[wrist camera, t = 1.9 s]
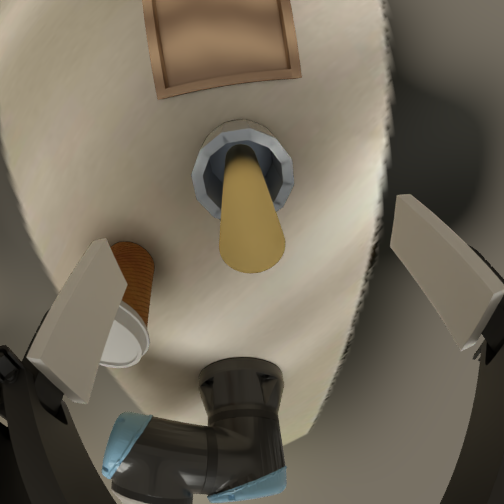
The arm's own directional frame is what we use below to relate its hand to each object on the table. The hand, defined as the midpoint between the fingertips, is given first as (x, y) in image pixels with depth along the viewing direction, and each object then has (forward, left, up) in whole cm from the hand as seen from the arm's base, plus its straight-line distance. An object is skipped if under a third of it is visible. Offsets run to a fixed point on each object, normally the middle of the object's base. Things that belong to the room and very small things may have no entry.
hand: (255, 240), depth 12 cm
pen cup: (0, 0, -16) cm, 16 cm away
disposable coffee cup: (-10, +15, -16) cm, 24 cm away
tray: (+14, 0, -16) cm, 21 cm away
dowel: (0, 0, -15) cm, 15 cm away
